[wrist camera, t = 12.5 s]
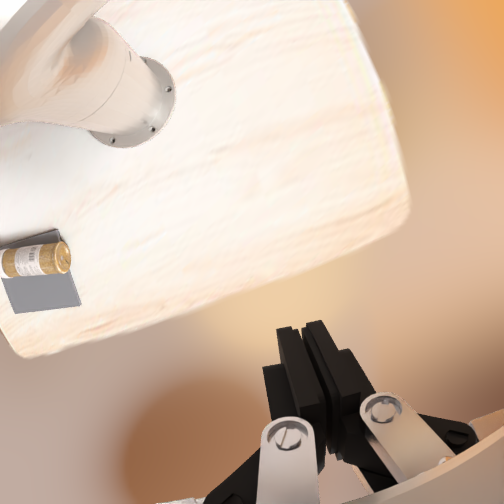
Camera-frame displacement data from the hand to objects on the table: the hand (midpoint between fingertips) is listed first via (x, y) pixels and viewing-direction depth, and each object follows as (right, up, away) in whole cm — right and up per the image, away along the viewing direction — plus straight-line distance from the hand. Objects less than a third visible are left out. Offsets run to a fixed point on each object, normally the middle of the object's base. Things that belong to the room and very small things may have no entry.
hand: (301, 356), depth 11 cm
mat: (-37, 0, +28) cm, 46 cm away
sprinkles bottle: (-27, +3, +25) cm, 37 cm away
